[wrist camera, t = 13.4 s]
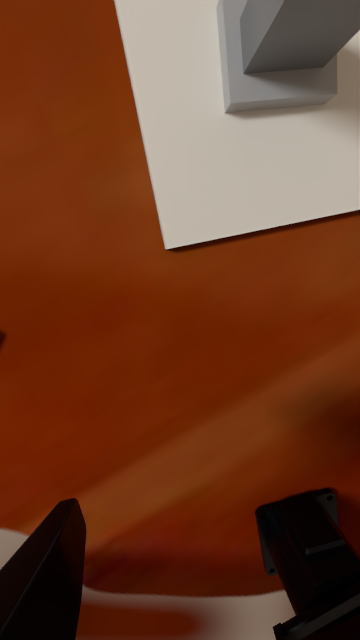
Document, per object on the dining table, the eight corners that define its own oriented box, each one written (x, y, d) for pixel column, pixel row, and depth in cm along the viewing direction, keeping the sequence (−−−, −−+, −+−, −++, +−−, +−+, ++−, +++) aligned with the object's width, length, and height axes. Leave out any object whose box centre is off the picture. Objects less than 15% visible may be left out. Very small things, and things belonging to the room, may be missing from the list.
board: (399, 201, 21) (409, 199, 20) (165, 249, 20) (166, 249, 19) (391, -58, 17) (403, -73, 17) (110, -18, 16) (108, -32, 16)
